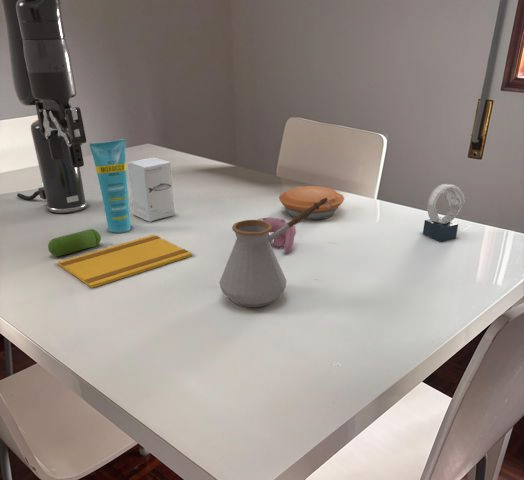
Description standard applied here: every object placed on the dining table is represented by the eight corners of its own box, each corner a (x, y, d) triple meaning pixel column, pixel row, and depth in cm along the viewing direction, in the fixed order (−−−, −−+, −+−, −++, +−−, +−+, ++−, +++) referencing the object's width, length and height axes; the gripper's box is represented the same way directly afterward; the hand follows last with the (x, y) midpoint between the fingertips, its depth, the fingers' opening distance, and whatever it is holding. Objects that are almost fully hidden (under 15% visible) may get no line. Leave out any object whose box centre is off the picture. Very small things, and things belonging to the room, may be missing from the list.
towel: (57, 264, 111) (57, 261, 110) (153, 237, 123) (153, 234, 123) (92, 288, 102) (91, 284, 101) (191, 256, 114) (191, 252, 113)
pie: (321, 227, 127) (322, 206, 124) (266, 214, 135) (266, 194, 132) (355, 209, 137) (356, 189, 135) (302, 198, 145) (302, 179, 143)
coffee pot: (240, 319, 91) (237, 230, 83) (208, 292, 100) (203, 209, 92) (344, 288, 100) (351, 205, 93) (307, 266, 109) (310, 189, 101)
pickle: (47, 255, 115) (43, 238, 113) (97, 241, 121) (94, 225, 119) (54, 260, 113) (50, 243, 111) (105, 246, 119) (102, 229, 117)
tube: (108, 235, 124) (93, 145, 114) (100, 229, 127) (85, 141, 117) (139, 229, 127) (128, 140, 117) (131, 223, 131) (119, 136, 121)
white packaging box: (149, 222, 131) (143, 167, 124) (133, 215, 136) (126, 161, 129) (176, 215, 135) (171, 161, 128) (159, 208, 140) (153, 156, 133)
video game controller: (294, 255, 117) (299, 221, 117) (289, 253, 113) (294, 218, 112) (250, 249, 120) (254, 216, 119) (243, 247, 116) (247, 213, 115)
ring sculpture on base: (462, 236, 121) (472, 185, 116) (434, 243, 118) (442, 191, 112) (444, 228, 126) (452, 179, 120) (416, 235, 122) (423, 184, 117)
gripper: (88, 69, 96) (103, 166, 105) (52, 63, 105) (69, 153, 114) (46, 73, 92) (65, 173, 101) (12, 66, 101) (33, 159, 110)
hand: (67, 162), depth 107 cm, fingers open, 8 cm apart
